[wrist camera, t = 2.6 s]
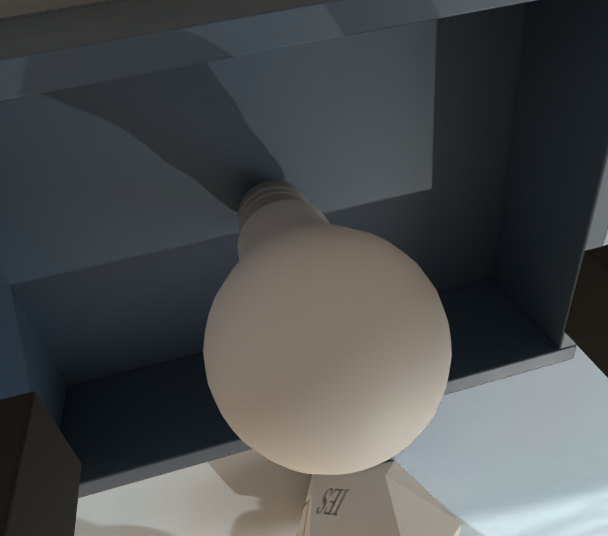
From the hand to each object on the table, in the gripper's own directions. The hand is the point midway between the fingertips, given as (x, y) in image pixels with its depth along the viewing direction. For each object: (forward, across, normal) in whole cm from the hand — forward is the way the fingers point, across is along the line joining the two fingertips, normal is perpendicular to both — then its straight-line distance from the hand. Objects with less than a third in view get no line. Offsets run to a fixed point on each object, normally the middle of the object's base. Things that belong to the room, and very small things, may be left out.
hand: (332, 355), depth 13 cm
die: (+9, -2, +21) cm, 23 cm away
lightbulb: (+9, 0, 0) cm, 9 cm away
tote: (+9, 0, 0) cm, 9 cm away
